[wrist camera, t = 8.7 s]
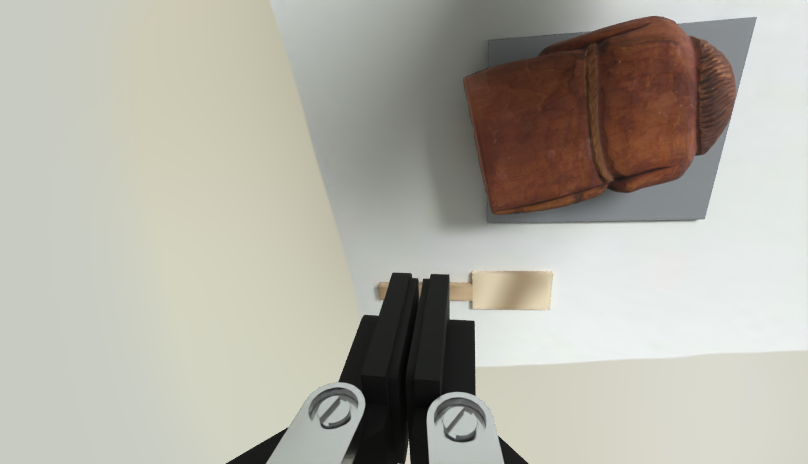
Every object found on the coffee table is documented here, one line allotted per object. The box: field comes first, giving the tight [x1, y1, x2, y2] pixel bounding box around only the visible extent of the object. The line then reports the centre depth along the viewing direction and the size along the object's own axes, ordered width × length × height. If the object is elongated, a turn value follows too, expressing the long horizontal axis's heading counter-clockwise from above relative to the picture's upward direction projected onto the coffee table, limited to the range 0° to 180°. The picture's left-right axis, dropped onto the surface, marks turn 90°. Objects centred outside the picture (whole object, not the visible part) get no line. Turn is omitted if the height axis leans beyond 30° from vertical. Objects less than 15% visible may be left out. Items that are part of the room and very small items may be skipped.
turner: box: [378, 271, 553, 310], centre depth 43 cm, size 18×4×1 cm, turn 95°
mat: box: [487, 17, 757, 223], centre depth 34 cm, size 16×19×1 cm
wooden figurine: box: [463, 16, 736, 215], centre depth 31 cm, size 12×6×18 cm
